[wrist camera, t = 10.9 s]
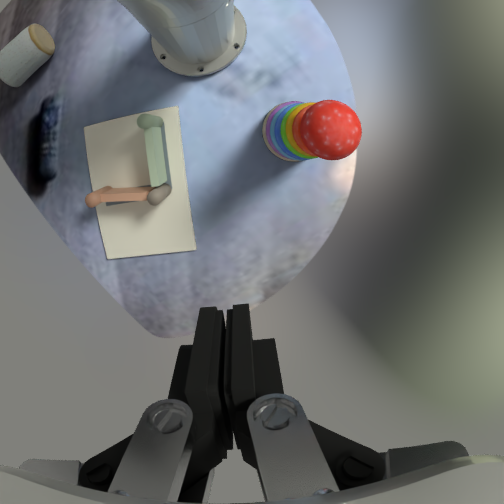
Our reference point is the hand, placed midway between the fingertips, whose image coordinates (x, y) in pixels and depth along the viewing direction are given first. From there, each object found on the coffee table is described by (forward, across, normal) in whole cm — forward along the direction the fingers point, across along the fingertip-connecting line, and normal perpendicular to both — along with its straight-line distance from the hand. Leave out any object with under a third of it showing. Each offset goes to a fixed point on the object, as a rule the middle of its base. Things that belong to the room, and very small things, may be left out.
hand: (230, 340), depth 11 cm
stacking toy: (+32, -8, -7) cm, 34 cm away
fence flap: (+31, +14, -1) cm, 34 cm away
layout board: (+32, +14, -2) cm, 35 cm away
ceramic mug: (+32, +30, -28) cm, 52 cm away
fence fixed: (+31, +9, -7) cm, 33 cm away
